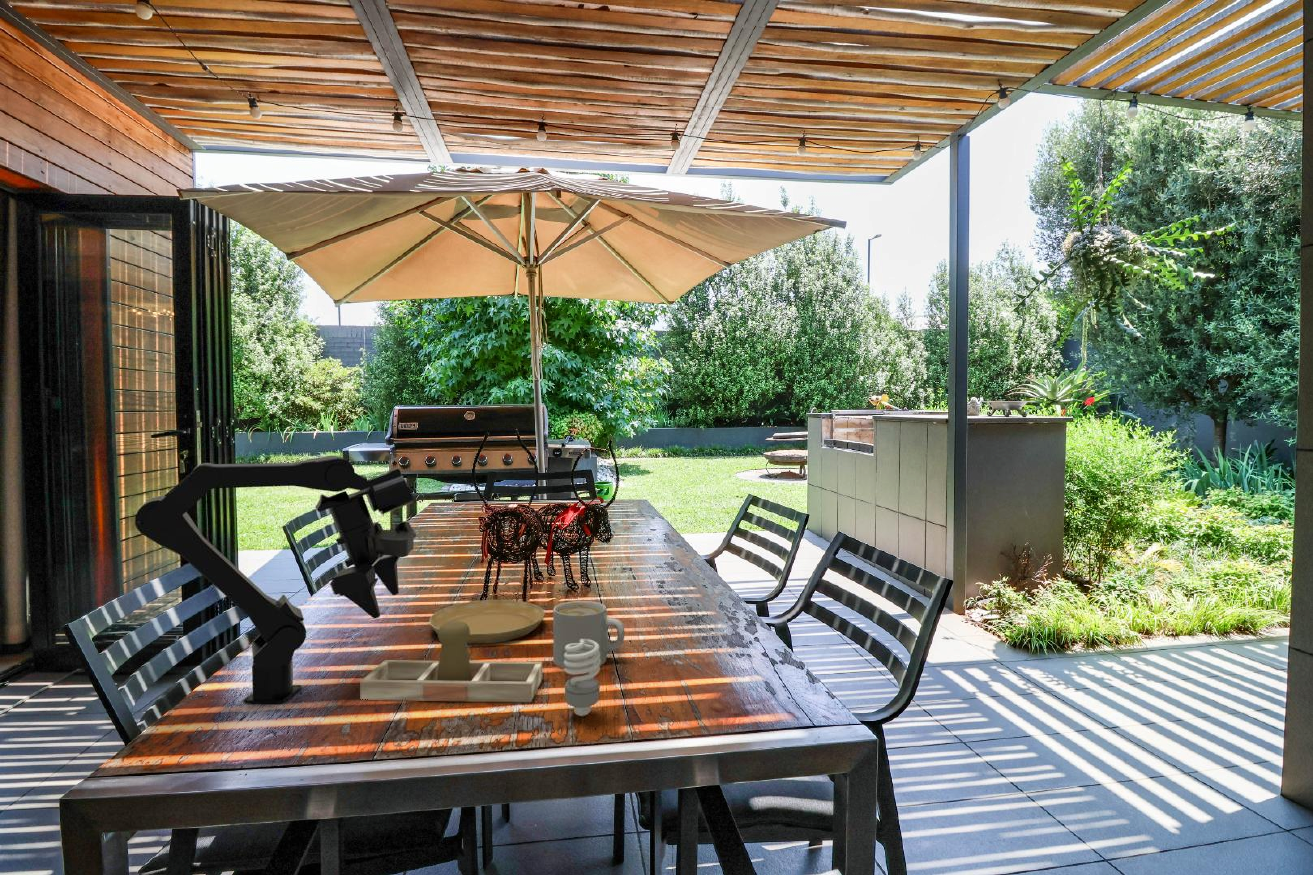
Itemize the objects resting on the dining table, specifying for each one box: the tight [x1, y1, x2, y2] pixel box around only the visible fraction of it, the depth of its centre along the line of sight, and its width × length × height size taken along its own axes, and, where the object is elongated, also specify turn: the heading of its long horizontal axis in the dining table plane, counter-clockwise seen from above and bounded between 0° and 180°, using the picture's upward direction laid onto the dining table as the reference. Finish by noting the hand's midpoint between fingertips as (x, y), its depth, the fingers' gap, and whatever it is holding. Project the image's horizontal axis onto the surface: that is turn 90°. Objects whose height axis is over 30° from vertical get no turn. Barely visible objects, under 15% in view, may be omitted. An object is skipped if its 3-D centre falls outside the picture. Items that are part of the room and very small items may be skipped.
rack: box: [359, 659, 543, 703], centre depth 122 cm, size 10×28×3 cm, turn 89°
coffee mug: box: [552, 600, 625, 669], centre depth 135 cm, size 13×10×10 cm
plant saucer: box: [428, 599, 545, 645], centre depth 155 cm, size 24×24×3 cm
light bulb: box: [563, 639, 601, 718], centre depth 111 cm, size 6×6×12 cm
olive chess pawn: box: [437, 621, 472, 681], centre depth 122 cm, size 6×6×11 cm
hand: (386, 605), depth 127 cm, fingers open, 9 cm apart
